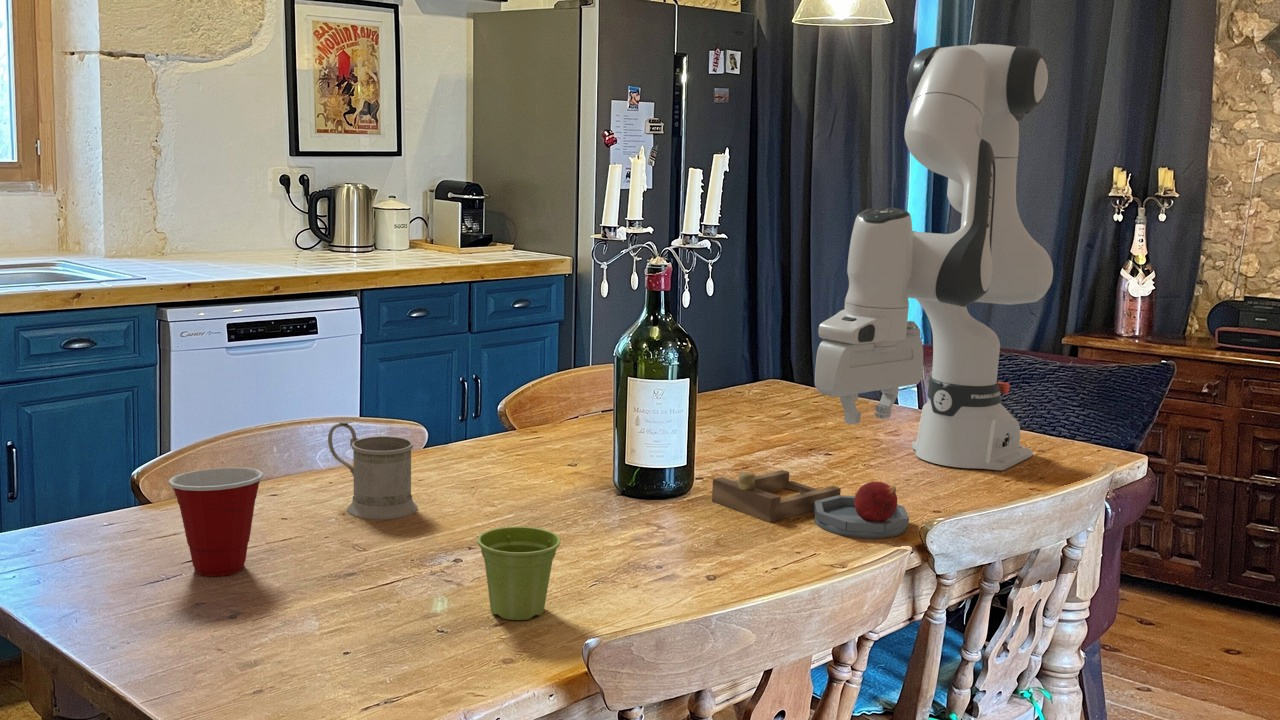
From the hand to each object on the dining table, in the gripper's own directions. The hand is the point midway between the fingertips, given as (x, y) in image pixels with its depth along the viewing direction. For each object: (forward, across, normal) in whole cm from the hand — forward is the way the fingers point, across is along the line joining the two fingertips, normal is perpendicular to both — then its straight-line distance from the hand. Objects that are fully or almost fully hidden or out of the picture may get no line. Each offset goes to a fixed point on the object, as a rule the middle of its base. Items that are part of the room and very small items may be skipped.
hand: (867, 420), depth 173 cm
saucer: (+15, 0, 0) cm, 15 cm away
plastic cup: (+16, +81, -34) cm, 89 cm away
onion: (+14, +1, 0) cm, 14 cm away
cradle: (+15, +2, -14) cm, 21 cm away
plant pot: (+16, +59, -2) cm, 61 cm away
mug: (+16, +54, -46) cm, 73 cm away
